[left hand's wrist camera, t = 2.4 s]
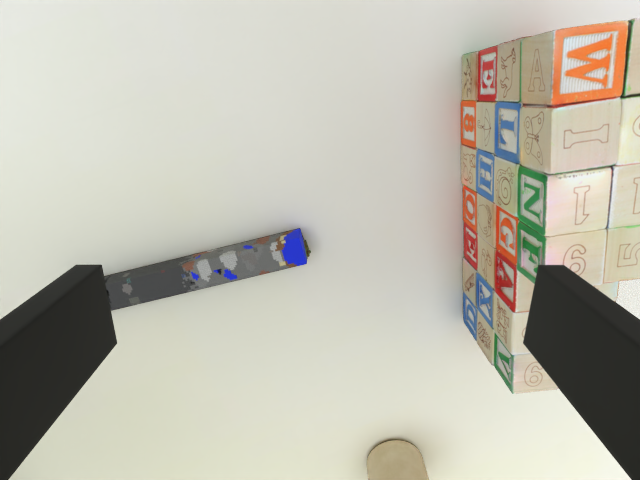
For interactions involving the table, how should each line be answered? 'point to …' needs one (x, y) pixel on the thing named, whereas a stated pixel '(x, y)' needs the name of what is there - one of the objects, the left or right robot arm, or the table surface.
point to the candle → (396, 462)
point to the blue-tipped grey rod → (207, 269)
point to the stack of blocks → (547, 178)
